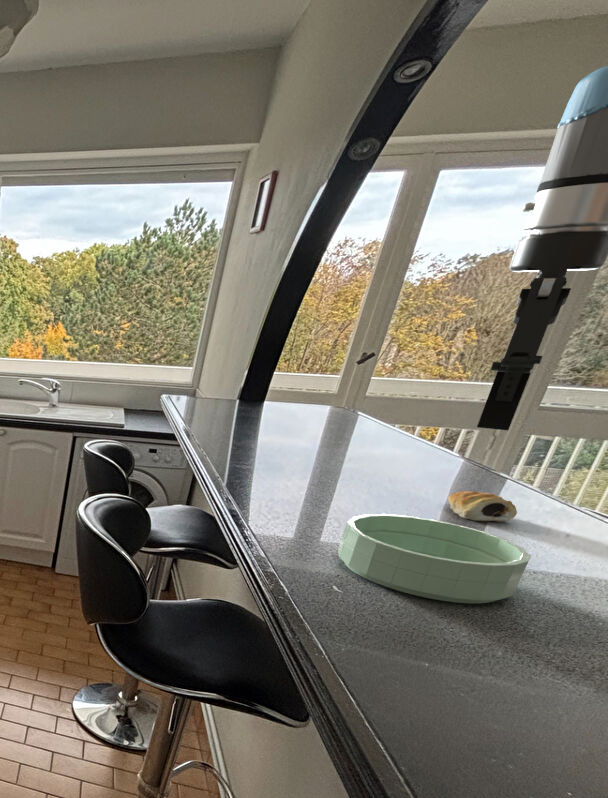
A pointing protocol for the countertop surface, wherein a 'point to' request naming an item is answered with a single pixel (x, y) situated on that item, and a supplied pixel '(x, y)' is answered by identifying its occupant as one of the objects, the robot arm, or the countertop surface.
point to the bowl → (432, 558)
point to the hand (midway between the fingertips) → (495, 421)
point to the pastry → (481, 506)
